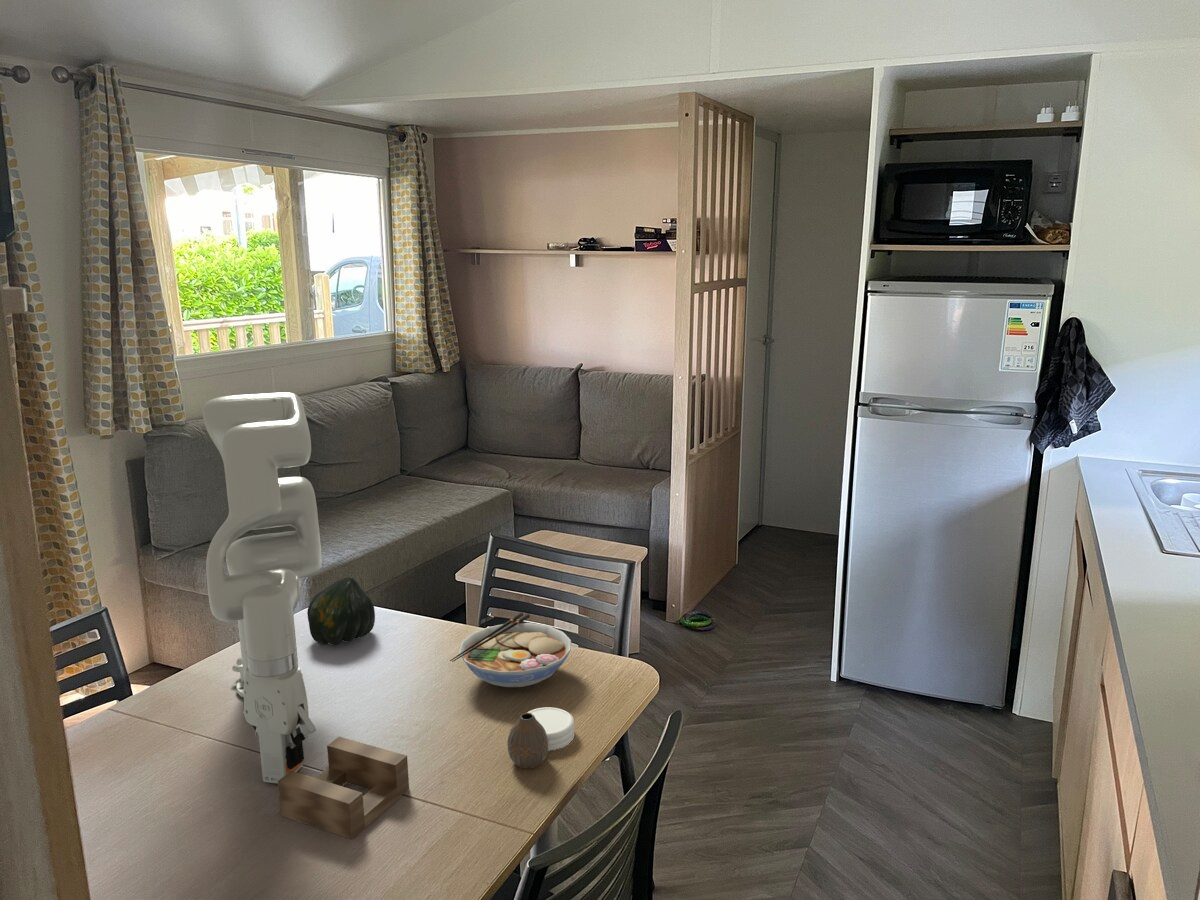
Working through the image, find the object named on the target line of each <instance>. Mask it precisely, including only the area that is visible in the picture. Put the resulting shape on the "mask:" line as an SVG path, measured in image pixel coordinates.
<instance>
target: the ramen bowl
mask: <svg viewBox="0 0 1200 900" xmlns="http://www.w3.org/2000/svg"><path fill="white" fill-rule="evenodd" d="M530 615H531V614H528V613H527V614H526V615H525V614H524V612H519V613H518V614H515V616H513V617H512V618H510V619H509V620H507V621H506V622H504V623H502V624H497V625H493V626H487V627H485V628H482V629H480V630H477V631H475V632H472V633H470V635H469V636H467V637H466V638H464V640H462V641H461V643H460V647H459V650H458V653H459V654H457V655H456V656H454V657H453V658H452V659H449V662H452V663H454V662H455V661H456V660H459V659H460V658H462V660H463V662H464V663H465V665H466V666H467V667H468V668H469V670H470V671H471V672H472V673H473V674H474V675H475V676H476V677H477V678H479V679H481V680H482V681H484V682H486V683H488V684H491V685H494V686H498V687H504V688H523V687H528V686H532V685H536V684H538V683H541V682H542V681H545V680H547V679H548V678H550V677H552V675H554V674H555V673H556V672H557V670H558V669H559V668H560V667H562V665H563V663H564V662H565V661H566V659H567V658H568V657H569V655H570V652H571V649H572V640H571V639H570V637H569V636H568V635H567V634H566V633H565V632H564V631H562V630H560V629H558V628H556V627H553V626H550V625H547V624H539V623H534V622H532V623H531V622H524V621H526V620H527V619H529V618H530Z"/></svg>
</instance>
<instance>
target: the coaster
mask: <svg viewBox="0 0 1200 900" xmlns="http://www.w3.org/2000/svg"><path fill="white" fill-rule="evenodd" d="M526 713H532V714H533V715H534V716H535V718H536V720H537V721H538V722H539V723H540V724H541V725H542V726H543V727H544V729H545V731H546V734H547V738H548V750H547V752H551V751H550V750H554V751H557V750H556V749H558V750H560V749H559V748H561V749H563V748H565V747H567V746H568V745H570V744H571V743H572V742H573V740H574V738H575V720H574V717H573V715H572V714H571V713H570V712H568V711H566V710H564V709H562V708H558V707H550V706H548V707H547V706H544V707H537V708H535V709H531V710H529V711H528V712H527V711H526ZM571 741H572V742H571ZM570 742H571V743H570ZM569 743H570V744H569ZM566 745H567V746H566ZM564 746H565V747H564ZM562 747H563V748H562Z"/></svg>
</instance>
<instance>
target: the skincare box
mask: <svg viewBox="0 0 1200 900" xmlns="http://www.w3.org/2000/svg"><path fill="white" fill-rule="evenodd" d="M268 719H269V718H267V719H266V718H264V717H262V716H258V717H257V723H258V733H259V738H258V743H259V751H260V753H259V755H260V763H261V774H262V775H261V776H262V781H263V782H265V783H270V784H277V785H278V780H280V779H281V778H283V777H284V776H285V775H287V774H288V773H289V772H291V771H294V772H297V773H298V771H299V770H300V769H301V768H302V767H303V766H304V760H303V761H302V762H301V763H299V764H298V765H297V766H295V767H294V768H293V769H289V768H288V767H287V756H286V747H287V746H288V743H287V740H286V736H285V735H283V734H279V733H276V732H272V731H270V728H269V723H268ZM292 733H293V736H294V737H295V736H296V735H297V734H296V731H293V732H292Z"/></svg>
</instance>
